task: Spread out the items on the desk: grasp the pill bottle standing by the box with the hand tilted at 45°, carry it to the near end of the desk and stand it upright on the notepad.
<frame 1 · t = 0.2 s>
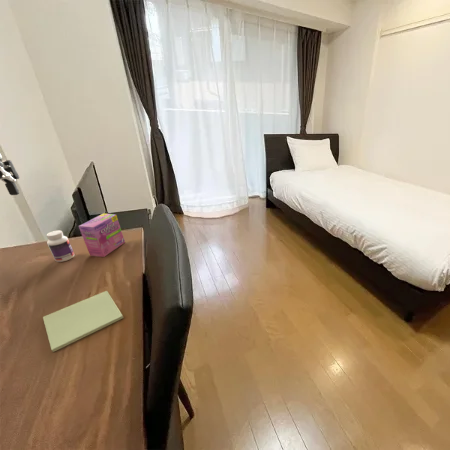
hand: (3, 199, 82), 22 cm above the table, tool pointing down, fingers open, 8 cm apart
box: (108, 249, 99), on the table
notepad: (83, 318, 68), on the table
pill bottle: (65, 258, 93), on the table
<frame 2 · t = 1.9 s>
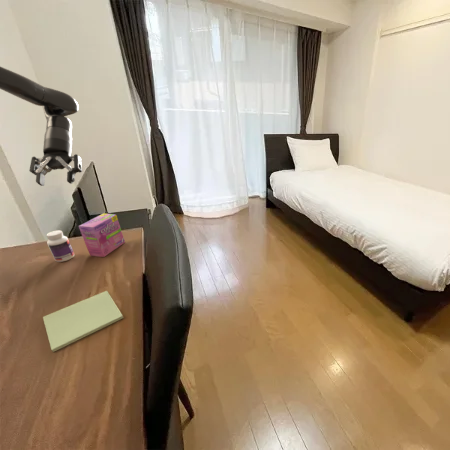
hand: (55, 183, 93), 23 cm above the table, tool tilted 45°, fingers open, 8 cm apart
nothing on the table moved.
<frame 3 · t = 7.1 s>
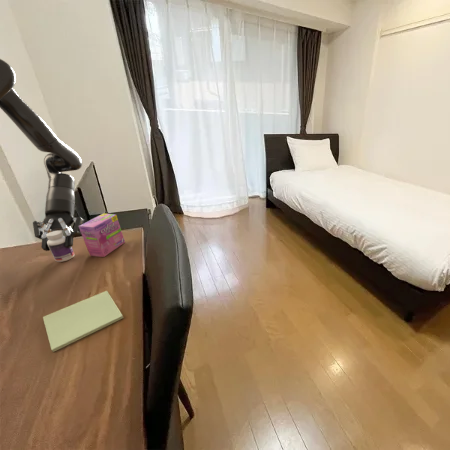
hand: (57, 248, 90), 5 cm above the table, tool tilted 45°, fingers closed on pill bottle, 5 cm apart
pill bottle: (65, 258, 93), on the table, touching gripper
everything else where it was.
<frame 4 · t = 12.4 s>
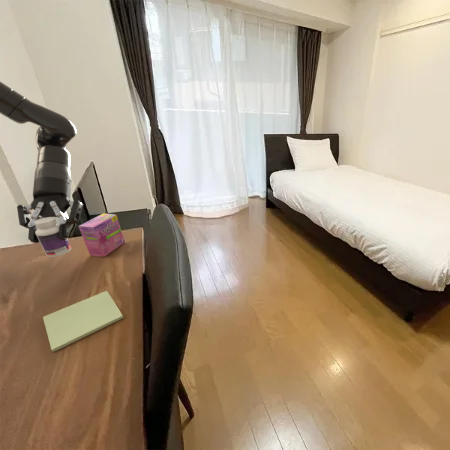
hand: (49, 240, 70), 17 cm above the table, tool tilted 45°, fingers closed on pill bottle, 5 cm apart
pill bottle: (59, 252, 74), point 12 cm above the table, touching gripper
everything else where it was.
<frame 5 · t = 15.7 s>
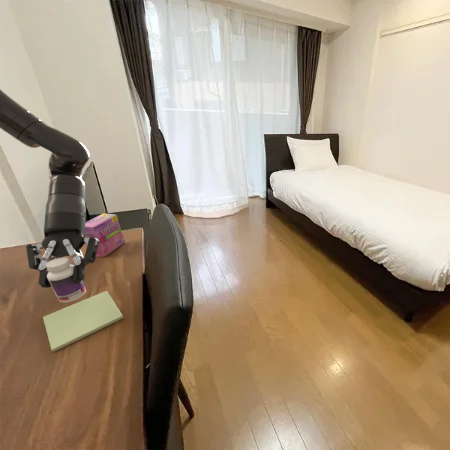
hand: (62, 284, 62), 12 cm above the table, tool tilted 45°, fingers closed on pill bottle, 5 cm apart
pill bottle: (73, 296, 65), point 7 cm above the table, touching gripper
everything else where it was.
when the fingers open (6 cm above the table, at t = 18.0 s): pill bottle stays where it is, resting on notepad.
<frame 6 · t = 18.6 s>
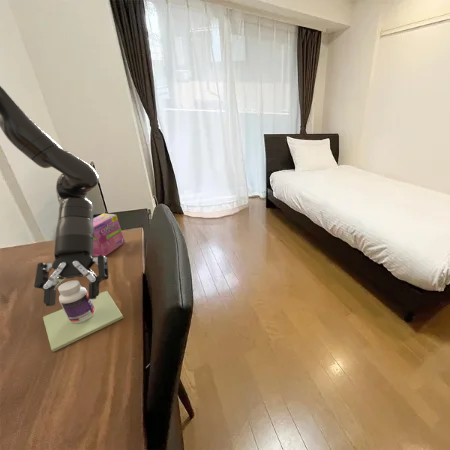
hand: (71, 302, 64), 7 cm above the table, tool tilted 45°, fingers open, 8 cm apart
pill bottle: (83, 316, 68), point 1 cm above the table, touching notepad
everything else where it was.
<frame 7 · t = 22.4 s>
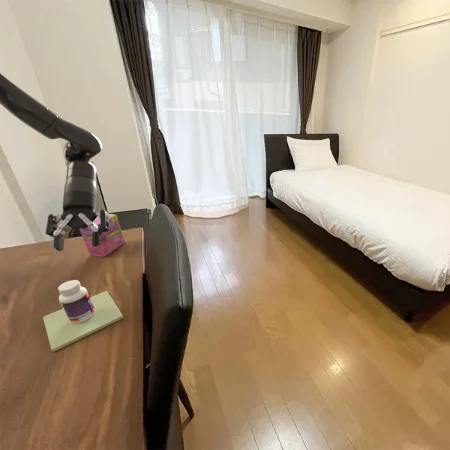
hand: (77, 248, 75), 13 cm above the table, tool tilted 45°, fingers open, 8 cm apart
nothing on the table moved.
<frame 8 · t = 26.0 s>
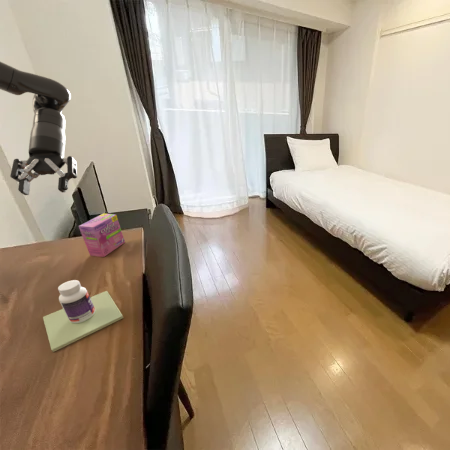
hand: (43, 192, 74), 27 cm above the table, tool tilted 45°, fingers open, 8 cm apart
nothing on the table moved.
at the end: pill bottle inside the target area on the notepad (0.1 cm from its centre), point 0.6 cm above the notepad's base; pill bottle tilted 0°; the gripper is holding nothing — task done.
